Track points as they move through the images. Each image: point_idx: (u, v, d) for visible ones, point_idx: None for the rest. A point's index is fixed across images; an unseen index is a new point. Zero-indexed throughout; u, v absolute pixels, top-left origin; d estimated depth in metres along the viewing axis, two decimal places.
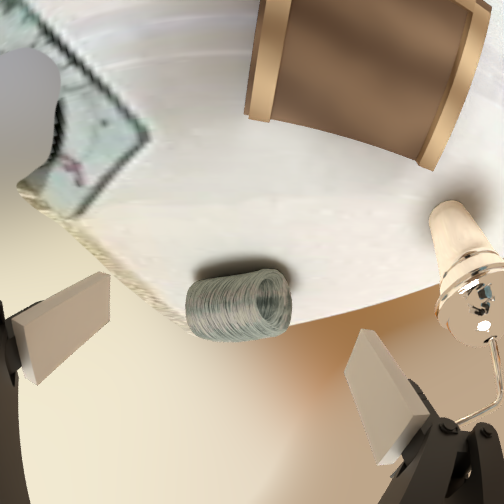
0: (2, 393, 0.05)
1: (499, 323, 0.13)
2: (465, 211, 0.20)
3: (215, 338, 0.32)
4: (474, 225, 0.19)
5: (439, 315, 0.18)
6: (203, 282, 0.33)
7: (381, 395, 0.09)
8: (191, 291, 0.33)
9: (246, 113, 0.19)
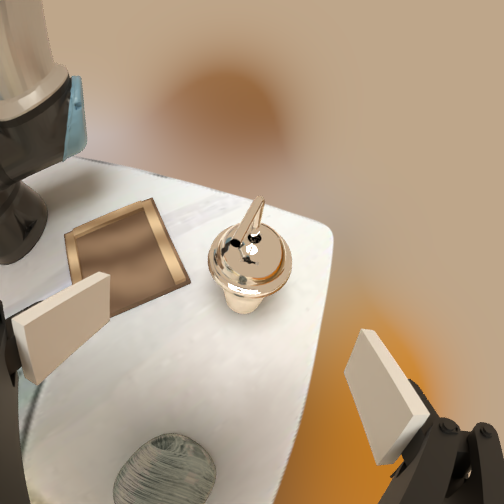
0: (2, 393, 0.05)
1: None
2: None
3: None
4: None
5: (231, 287, 0.26)
6: None
7: (381, 395, 0.09)
8: None
9: None
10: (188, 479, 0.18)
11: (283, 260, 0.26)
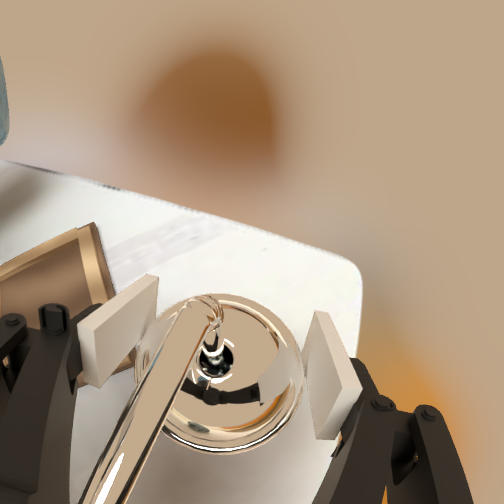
0: (59, 403, 0.05)
1: None
2: (206, 360, 0.21)
3: None
4: None
5: (177, 439, 0.10)
6: None
7: (323, 370, 0.10)
8: None
9: None
10: None
11: (285, 394, 0.11)
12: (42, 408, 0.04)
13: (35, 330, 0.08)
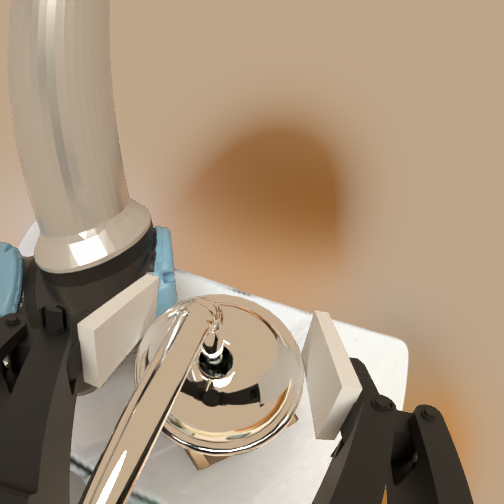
0: (59, 403, 0.05)
1: None
2: (205, 361, 0.21)
3: None
4: None
5: (177, 441, 0.10)
6: None
7: (322, 370, 0.10)
8: None
9: (198, 469, 0.29)
10: None
11: (285, 395, 0.11)
12: (42, 408, 0.04)
13: (35, 330, 0.08)
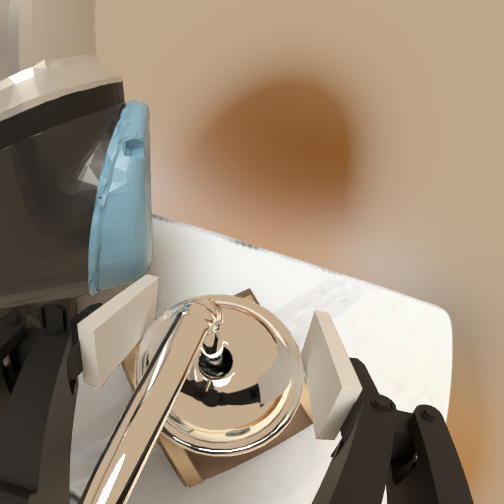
0: (59, 403, 0.05)
1: None
2: (205, 361, 0.21)
3: None
4: None
5: (177, 441, 0.10)
6: None
7: (322, 370, 0.10)
8: None
9: (186, 485, 0.19)
10: None
11: (285, 396, 0.11)
12: (42, 408, 0.04)
13: (35, 330, 0.08)
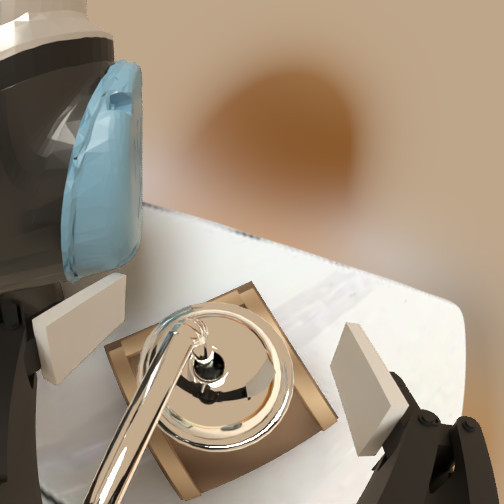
0: (20, 396, 0.05)
1: None
2: None
3: None
4: None
5: (177, 438, 0.11)
6: None
7: (362, 386, 0.09)
8: None
9: (182, 498, 0.16)
10: None
11: (274, 396, 0.12)
12: (4, 400, 0.04)
13: None
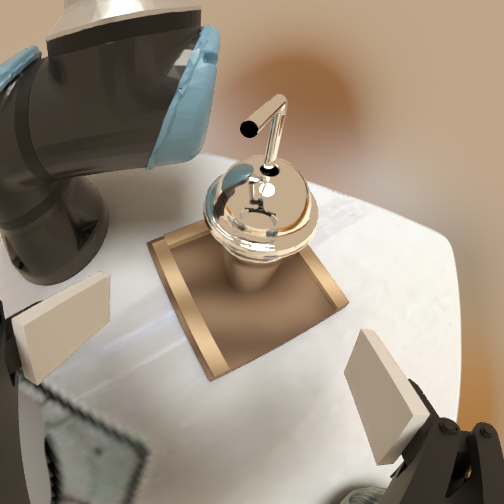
0: (2, 393, 0.05)
1: (246, 160, 0.18)
2: None
3: None
4: None
5: (236, 242, 0.18)
6: None
7: (381, 395, 0.09)
8: None
9: (211, 378, 0.23)
10: None
11: (309, 205, 0.18)
12: None
13: None
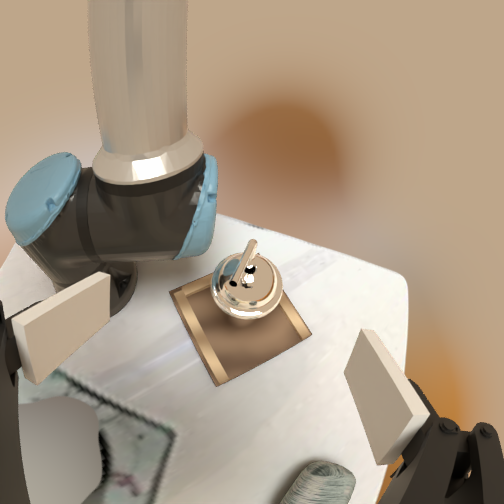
0: (2, 393, 0.05)
1: (236, 260, 0.31)
2: None
3: None
4: None
5: (231, 310, 0.31)
6: None
7: (381, 395, 0.09)
8: None
9: (217, 384, 0.35)
10: (346, 491, 0.23)
11: (274, 287, 0.31)
12: None
13: None
